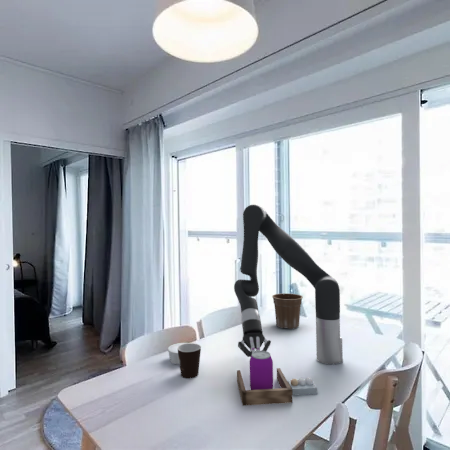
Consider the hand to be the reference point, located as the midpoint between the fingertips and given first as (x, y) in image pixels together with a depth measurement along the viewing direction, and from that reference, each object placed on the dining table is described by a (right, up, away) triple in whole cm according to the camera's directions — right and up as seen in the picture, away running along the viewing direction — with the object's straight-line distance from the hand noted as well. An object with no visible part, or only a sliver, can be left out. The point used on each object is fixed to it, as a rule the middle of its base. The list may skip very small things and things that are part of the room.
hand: (257, 367), depth 116 cm
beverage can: (0, -4, -9) cm, 10 cm away
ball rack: (+14, -4, -9) cm, 17 cm away
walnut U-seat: (+1, -4, -9) cm, 10 cm away
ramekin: (-29, -5, +17) cm, 34 cm away
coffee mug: (-24, -4, +5) cm, 25 cm away
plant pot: (+22, -4, +60) cm, 64 cm away
